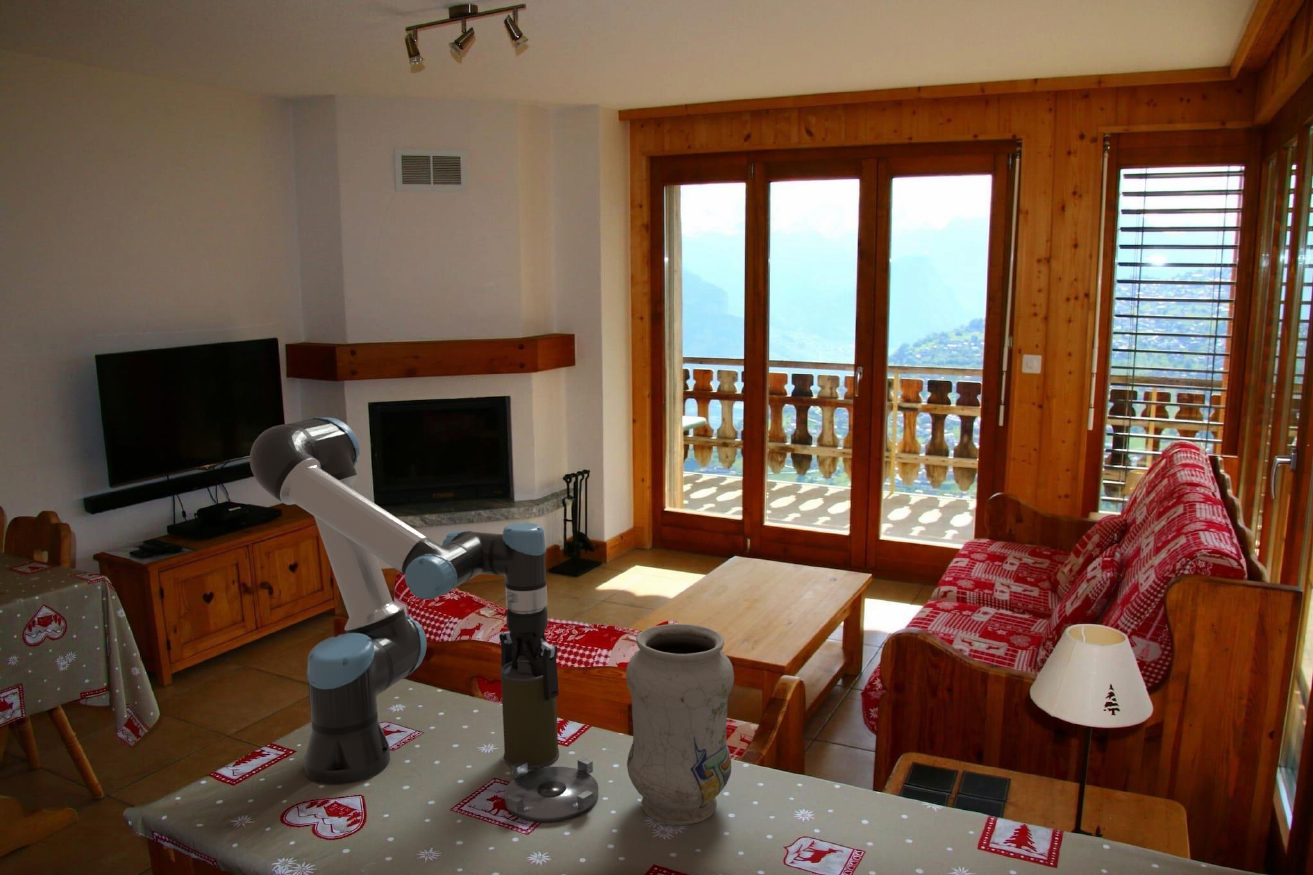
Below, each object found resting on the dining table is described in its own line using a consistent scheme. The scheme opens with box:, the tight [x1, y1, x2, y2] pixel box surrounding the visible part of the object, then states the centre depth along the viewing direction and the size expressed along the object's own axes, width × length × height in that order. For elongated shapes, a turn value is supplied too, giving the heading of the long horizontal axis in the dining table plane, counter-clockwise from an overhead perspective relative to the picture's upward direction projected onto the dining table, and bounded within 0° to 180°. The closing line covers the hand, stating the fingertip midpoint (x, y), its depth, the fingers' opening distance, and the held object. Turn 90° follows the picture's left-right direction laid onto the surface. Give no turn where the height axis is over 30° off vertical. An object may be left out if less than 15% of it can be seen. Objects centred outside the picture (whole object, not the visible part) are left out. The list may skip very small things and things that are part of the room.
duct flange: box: [504, 756, 599, 824], centre depth 165 cm, size 18×18×4 cm
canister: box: [499, 655, 560, 770], centre depth 179 cm, size 11×10×20 cm
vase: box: [625, 623, 735, 826], centre depth 159 cm, size 18×18×30 cm
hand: (530, 726), depth 179 cm, fingers open, 6 cm apart
